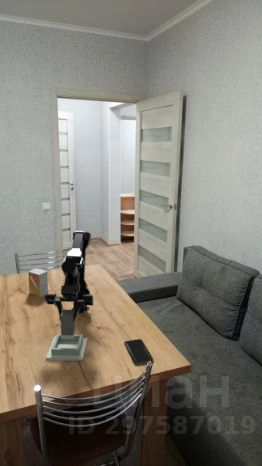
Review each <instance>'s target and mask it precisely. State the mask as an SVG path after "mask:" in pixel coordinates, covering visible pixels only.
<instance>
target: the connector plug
mask: <svg viewBox="0 0 262 466" xmlns="http://www.w3.org/2000/svg"><path fill="white" fill-rule="evenodd" d="M74 311H75V310H72V309H63V311H62V313H61V321H60V334H61V339H73V338H74V335H75V334H76V320H75V321H73V316H74Z"/></svg>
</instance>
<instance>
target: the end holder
mask: <svg viewBox="0 0 262 466" xmlns="http://www.w3.org/2000/svg"><path fill="white" fill-rule="evenodd" d="M87 343H88V337H84V334H76V333H75V335H74V338H73V339H61V333H57V334H56V336H53V338H52V342H51V344H50V347H49V349H48V350H47V351H48V352H47V354H46V356H45V361H67V362H68V361H70V362H71V361H73V362H75V361H76V362H83V361H84V357H85V353H86V348H87V345H88V344H87Z"/></svg>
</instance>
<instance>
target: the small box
mask: <svg viewBox="0 0 262 466" xmlns="http://www.w3.org/2000/svg"><path fill="white" fill-rule="evenodd" d="M27 272H28V274H27V275H28V293H29V295H33V296H36V297H39V298H42V297H43V296H45V295H46V294H49V282H48V281H49V279H48V277H49V276H48V270H44V269H40V268H37V267H36V268H34V269H32V270H31V269H30V271H27Z"/></svg>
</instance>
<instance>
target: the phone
mask: <svg viewBox="0 0 262 466" xmlns="http://www.w3.org/2000/svg"><path fill="white" fill-rule="evenodd" d="M123 344H124V346H125V348H126V350H127V353H128V354H129V357H130V356H131V357H130V359H131V361H132V364H134V365H135V366H141V365H146V364H148V363H147V362H149V361H151V362H152V363H153V362H154V357H153V356H152V354H151V352H150V351H149V349H148V347H147V346H146V344H145V342H144V340H143V339H142V338H138V339H131V340H125V341H124V343H123ZM140 364H141V365H140Z"/></svg>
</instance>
